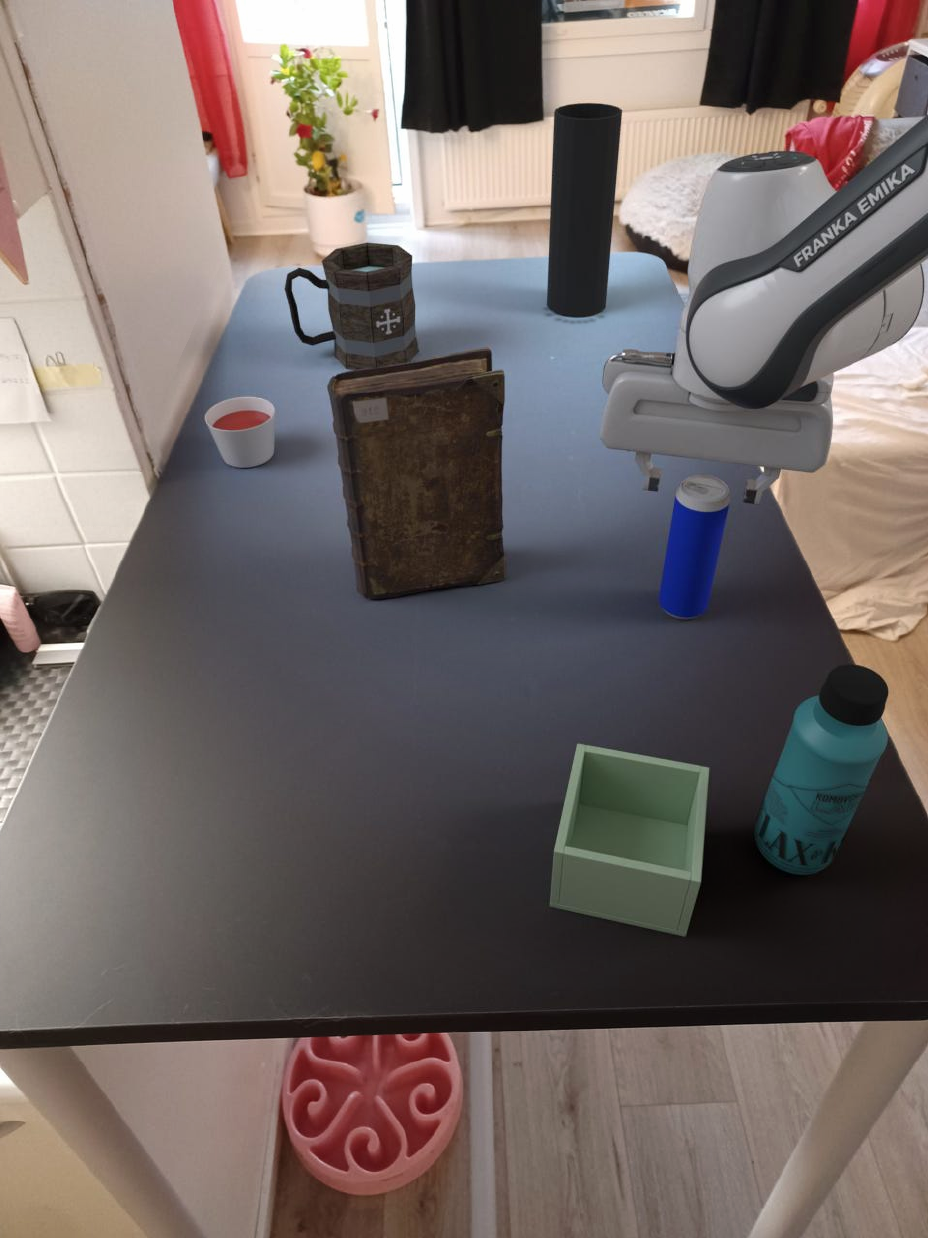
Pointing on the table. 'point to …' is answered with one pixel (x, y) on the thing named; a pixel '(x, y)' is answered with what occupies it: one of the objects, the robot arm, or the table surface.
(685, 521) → the beverage can
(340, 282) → the mug
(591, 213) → the vase
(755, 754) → the table surface
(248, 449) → the white cup
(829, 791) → the beverage bottle
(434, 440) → the book
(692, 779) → the bin
